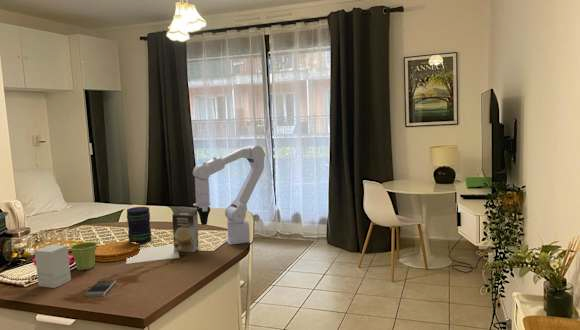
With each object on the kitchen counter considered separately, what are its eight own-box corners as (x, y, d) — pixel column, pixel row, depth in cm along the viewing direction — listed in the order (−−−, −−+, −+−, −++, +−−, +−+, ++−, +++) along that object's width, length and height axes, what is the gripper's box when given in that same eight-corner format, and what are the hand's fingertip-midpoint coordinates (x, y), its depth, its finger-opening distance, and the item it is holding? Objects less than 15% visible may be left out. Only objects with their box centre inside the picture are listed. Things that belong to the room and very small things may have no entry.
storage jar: (143, 236, 203) (140, 205, 201) (156, 240, 197) (154, 208, 196) (124, 242, 195) (121, 210, 193) (137, 245, 189) (134, 212, 188)
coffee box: (173, 251, 178) (171, 215, 175) (178, 245, 185) (176, 209, 181) (194, 252, 178) (193, 215, 174) (199, 246, 184) (197, 210, 180)
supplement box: (71, 280, 151) (68, 245, 149) (54, 288, 144) (50, 252, 142) (55, 278, 153) (52, 243, 152) (37, 286, 146) (33, 250, 145)
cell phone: (116, 284, 148) (116, 280, 147) (104, 297, 137) (103, 293, 136) (98, 284, 147) (98, 280, 147) (84, 298, 136) (84, 294, 136)
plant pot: (65, 270, 160) (63, 248, 159) (85, 262, 169) (83, 241, 168) (85, 273, 157) (83, 250, 156) (104, 264, 166) (102, 242, 165)
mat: (176, 245, 189) (176, 244, 189) (179, 257, 172) (179, 257, 172) (128, 250, 183) (128, 249, 183) (126, 264, 166) (125, 263, 166)
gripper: (191, 191, 188) (193, 221, 189) (194, 197, 174) (196, 229, 175) (207, 189, 190) (209, 219, 191) (211, 195, 176) (213, 227, 177)
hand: (204, 224), depth 183 cm, fingers closed
